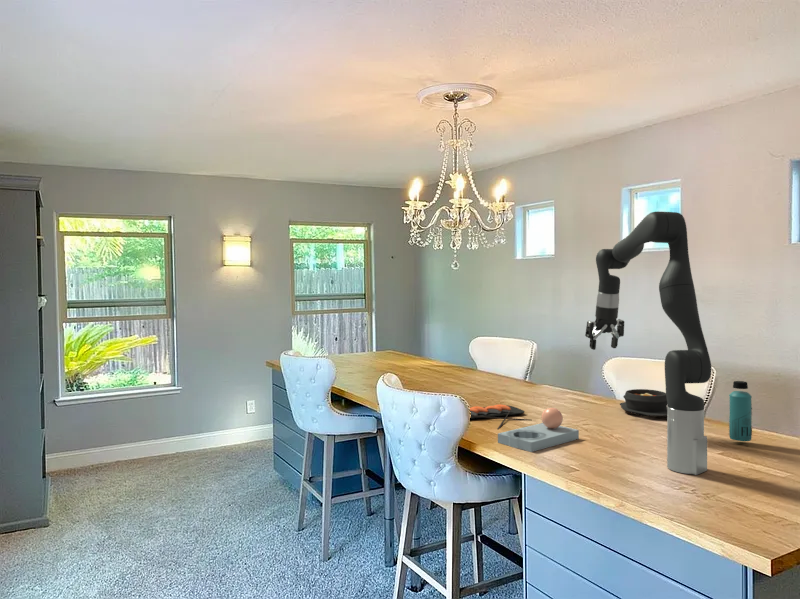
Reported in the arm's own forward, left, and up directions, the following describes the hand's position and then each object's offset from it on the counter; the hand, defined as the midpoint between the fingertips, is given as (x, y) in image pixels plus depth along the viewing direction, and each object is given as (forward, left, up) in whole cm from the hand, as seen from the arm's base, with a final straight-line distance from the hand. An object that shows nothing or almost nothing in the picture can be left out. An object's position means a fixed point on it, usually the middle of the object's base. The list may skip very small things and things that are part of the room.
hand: (603, 348), depth 213 cm
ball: (+2, +27, -22) cm, 34 cm away
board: (+2, +34, -28) cm, 44 cm away
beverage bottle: (-41, -13, -28) cm, 52 cm away
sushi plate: (+33, +22, -29) cm, 49 cm away
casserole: (+1, -31, -29) cm, 42 cm away
